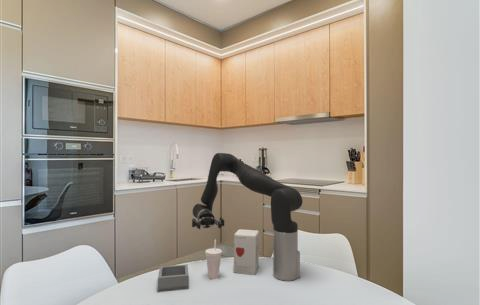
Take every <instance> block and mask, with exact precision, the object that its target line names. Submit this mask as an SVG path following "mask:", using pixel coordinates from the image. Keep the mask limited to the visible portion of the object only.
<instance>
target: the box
mask: <svg viewBox="0 0 480 305" xmlns="http://www.w3.org/2000/svg"><path fill="white" fill-rule="evenodd" d="M188 265H189V264H186V263H185V264H176V265H175V264H174V265H164V266H163V265H161V266H159V270H158V277H157V292H158V293H160V292H161V293H162V292H170V291H182V290H189V287H190V286H189V284H190V283H189V281H190V280H189V279H190V275H189V266H188Z"/></svg>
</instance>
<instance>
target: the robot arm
mask: <svg viewBox="0 0 480 305" xmlns="http://www.w3.org/2000/svg"><path fill="white" fill-rule="evenodd" d="M220 172H224V173H225V172H228V173H232V174H233V175H236V176H237V178H238V181H239V182H240V184H241V185H243V187H245V188H247V189H248V190H250V191H252V192H255V193H257V194H261V195H263V196H268V197H270V217H271V218H270V219H271V223H272V227H273V231H272V232H273V234H272V235H273V247H272V248H273V253H272V254H273V256H272V257H273V258H272V261H273V266H272V268H273V269H272V272H273V274H272V275H273V276H274V278H276V279H278V280H281V281H288V282H289V281H295V280H297V279H299V278H301V251H299V250H298V249H299V248H298V247H299V245H298V244H299V241H298V240H299V239H298V238H299V237H298V234H299V232H298V231H299V228H298V223H297V222H296V221H294V220H292V214H291V213H292V212H295V211H297V210H299V209H301V207H302V205H303V197H302V195H301V193H300V191H299V190H297V189H296V188H294V187H291V186H289V185H286V184H284V183H281V182H279V181H278V180H275V179H274V178H272V177H270V176H268V175H267V174H265V173H263V172H262V171H260V170H258V169H256V168H255V167H253V166H251V165H248V164H246V163H244V162H243V161H241V159H239V158H238V157H236V156H235V155H233V154H232V153H226V152H217V153H215V154H214V155H213V156H212V160H211V162H210V167H209V171H208V175H207V180H206V185H205V187H204V190H203V192H202V195H201V197H200V202H201V203H196V204H195V205H194V206H193V208H192V215H193V217H195V218H192V219H191V227H192V228H195V227H196V228H197V229H198V230H201V228H203V229H209V228H211V227H214V228H216V227H217V228H218V229H221V228H222V227H225V219H224V218H223V217H219V218H216V217H215V215H214V214H213V206H214V202H215V201H216V200H215V199H216V198H217V195H218V192H219V186H218V182H217V181H218V180H217V179H218V176H219V173H220Z"/></svg>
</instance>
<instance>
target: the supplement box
mask: <svg viewBox="0 0 480 305" xmlns="http://www.w3.org/2000/svg"><path fill="white" fill-rule="evenodd" d="M233 235H234V236H233V273H234V274H235V273H237V274H245V275H253V276H256V275H257V273H258V269H259V264H260V263H259V260H260V259H259V258H260V256H259V255H260V254H259V253H260V252H259V251H260V230H253V229H240V228H239V229H238V230H237V231H236V232H234V234H233Z"/></svg>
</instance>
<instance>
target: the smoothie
mask: <svg viewBox="0 0 480 305" xmlns="http://www.w3.org/2000/svg"><path fill="white" fill-rule="evenodd" d="M222 254H223V250H222V249H221V248H217V239H216V238H215V239H214V246H213V248H207V249H206V250H205V252H204V255H205V257H206V267H207V275H208V279H210V280H216V279H218V278H219V274H220V273H219V272H220V266H221V259H222Z"/></svg>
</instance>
